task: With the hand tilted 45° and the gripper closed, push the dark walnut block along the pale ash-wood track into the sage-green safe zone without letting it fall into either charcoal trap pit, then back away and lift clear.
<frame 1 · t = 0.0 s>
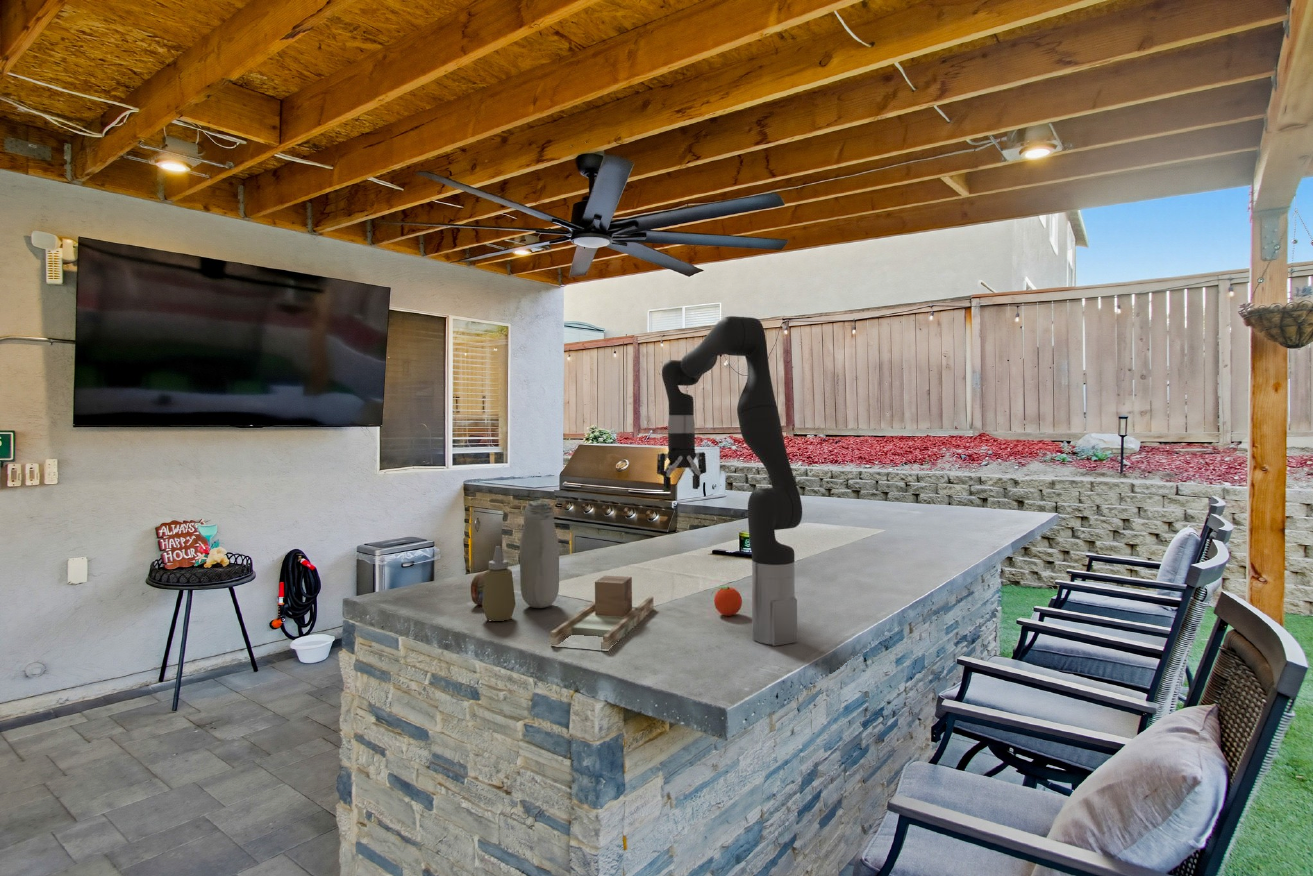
hand: (681, 489, 189), 29 cm above the countertop, tool pointing down, fingers open, 8 cm apart
grey vase: (540, 607, 177), on the countertop
walnut block: (613, 612, 164), point 2 cm above the countertop, touching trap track
tin: (489, 602, 184), on the countertop
clementine: (726, 615, 168), on the countertop
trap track: (606, 626, 159), on the countertop
squeeze bottle: (499, 620, 166), on the countertop
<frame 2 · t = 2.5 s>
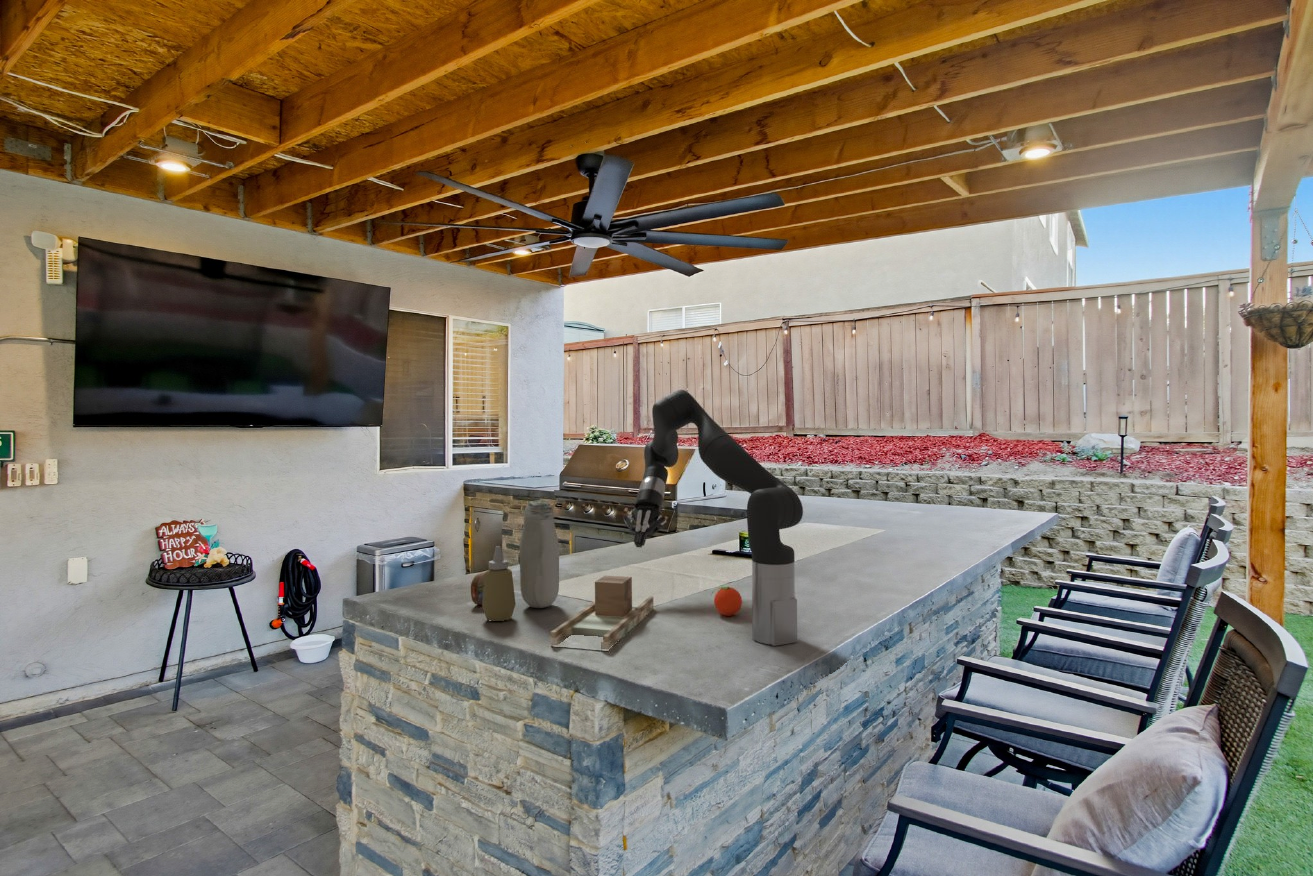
hand: (638, 545, 183), 15 cm above the countertop, tool tilted 45°, fingers closed
nothing on the countertop moved.
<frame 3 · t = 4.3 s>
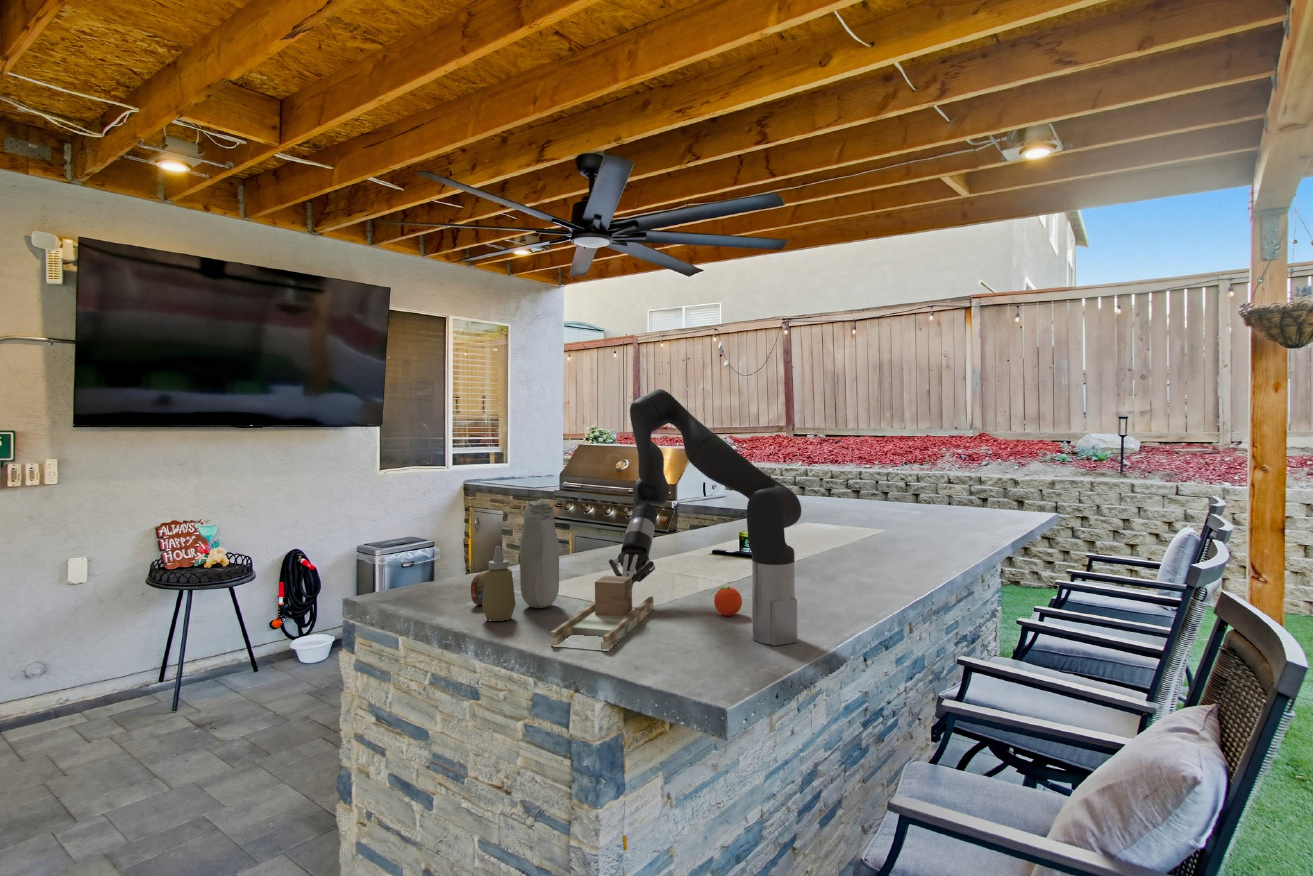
hand: (624, 593, 172), 5 cm above the countertop, tool tilted 45°, fingers closed
nothing on the countertop moved.
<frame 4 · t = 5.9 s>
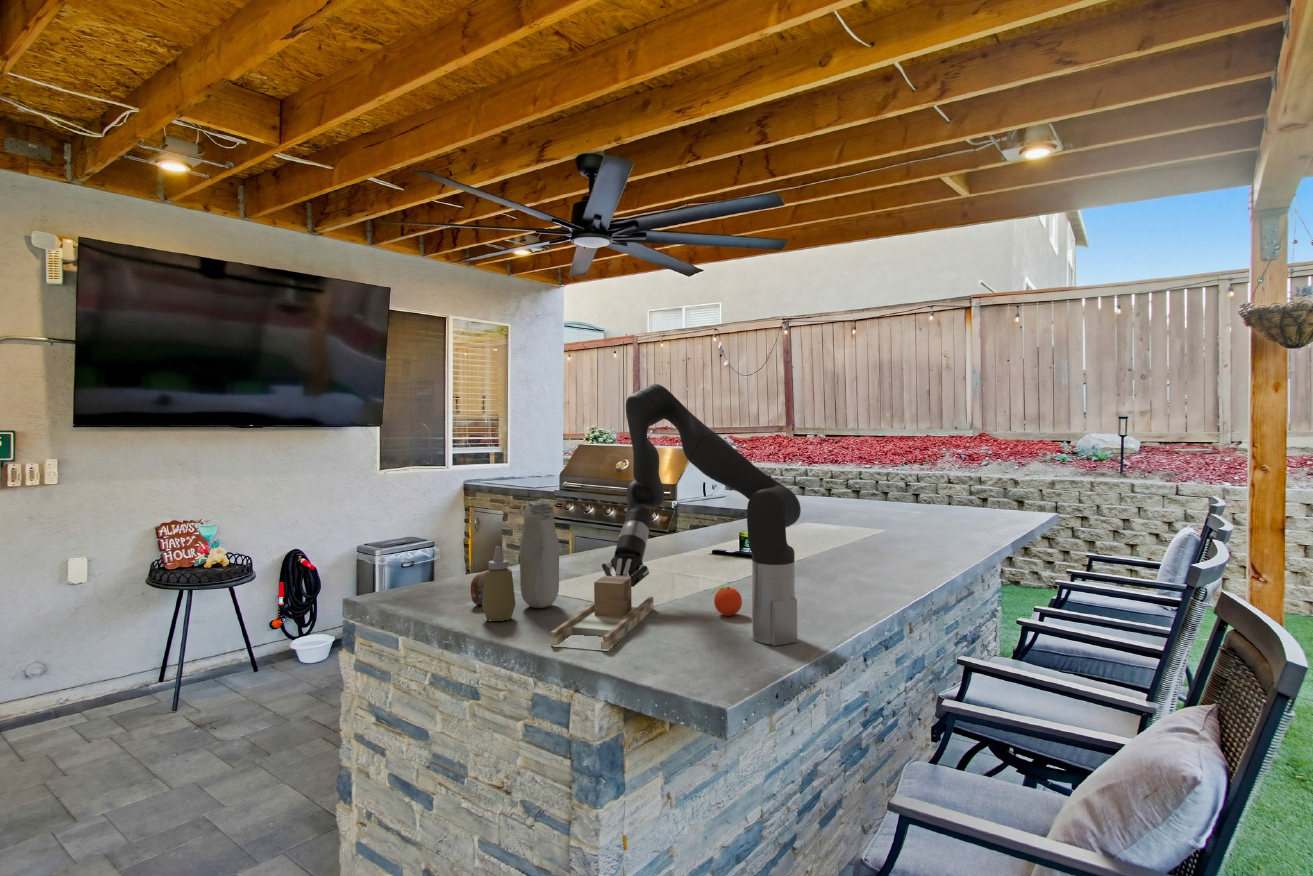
hand: (617, 599, 168), 4 cm above the countertop, tool tilted 45°, fingers closed
walnut block: (613, 612, 164), point 2 cm above the countertop, touching gripper, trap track
everything else where it was.
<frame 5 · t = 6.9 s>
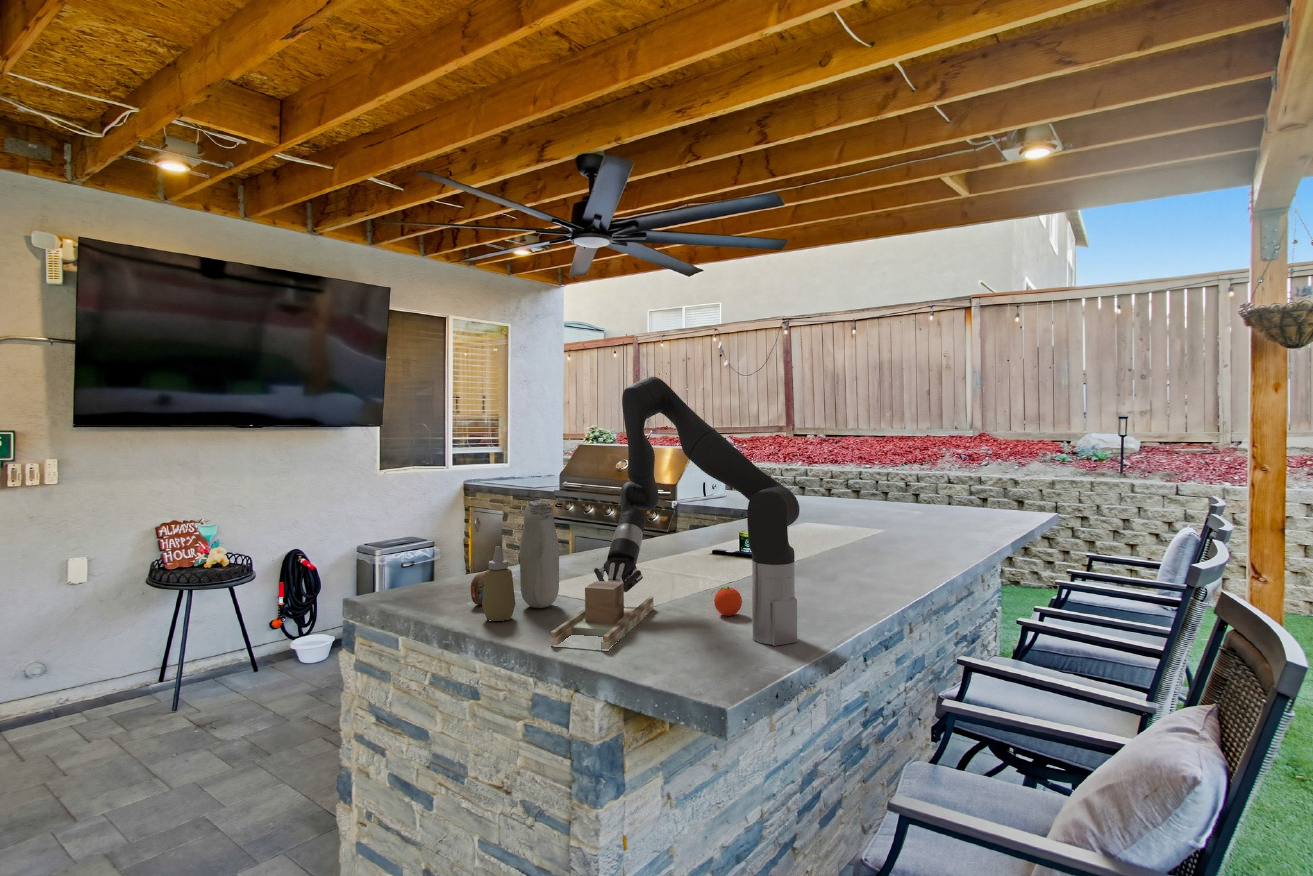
hand: (609, 604, 162), 4 cm above the countertop, tool tilted 45°, fingers closed
walnut block: (604, 619, 158), point 2 cm above the countertop, touching gripper, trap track
everything else where it was.
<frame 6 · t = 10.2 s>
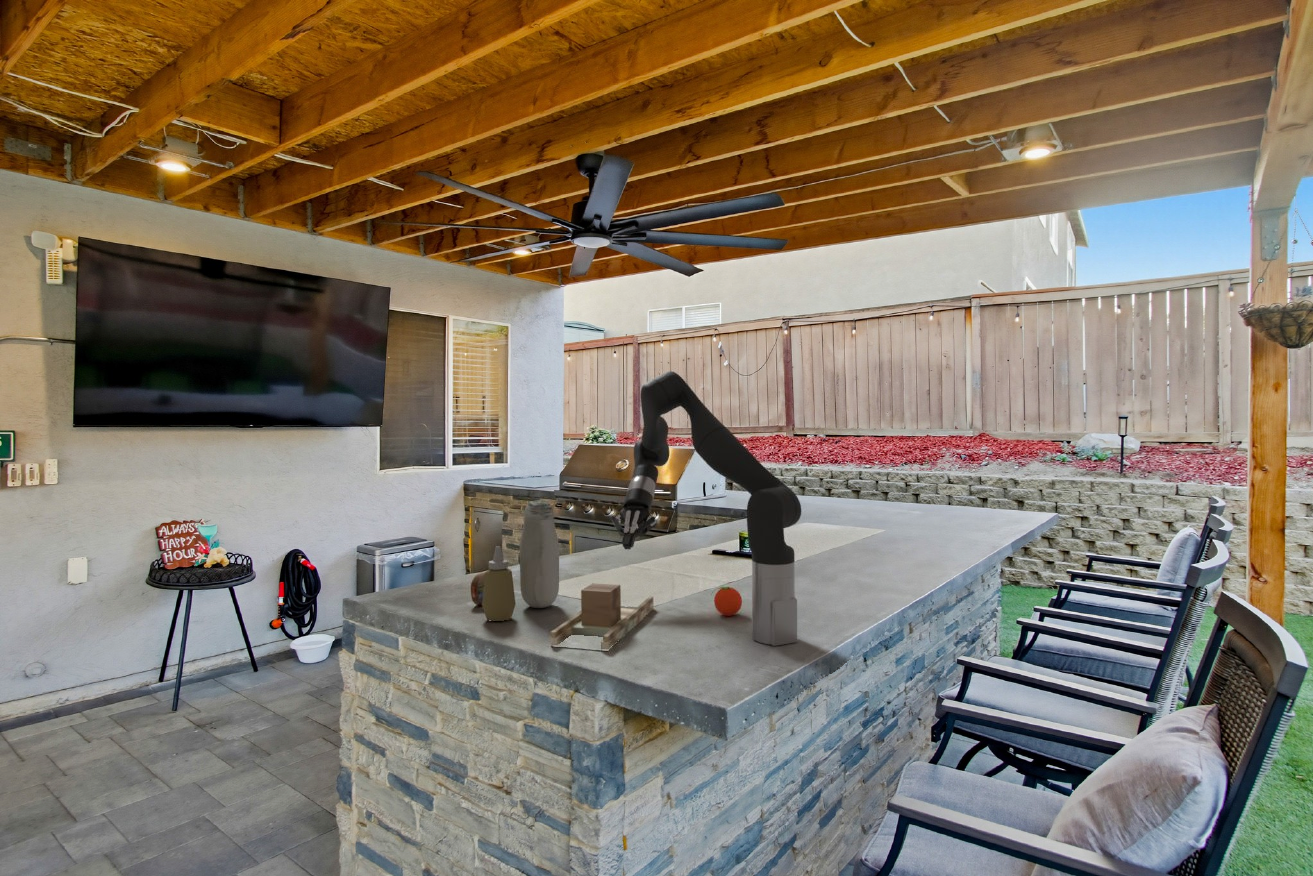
hand: (626, 547, 175), 16 cm above the countertop, tool tilted 45°, fingers closed
walnut block: (601, 622, 156), point 2 cm above the countertop, touching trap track
everything else where it was.
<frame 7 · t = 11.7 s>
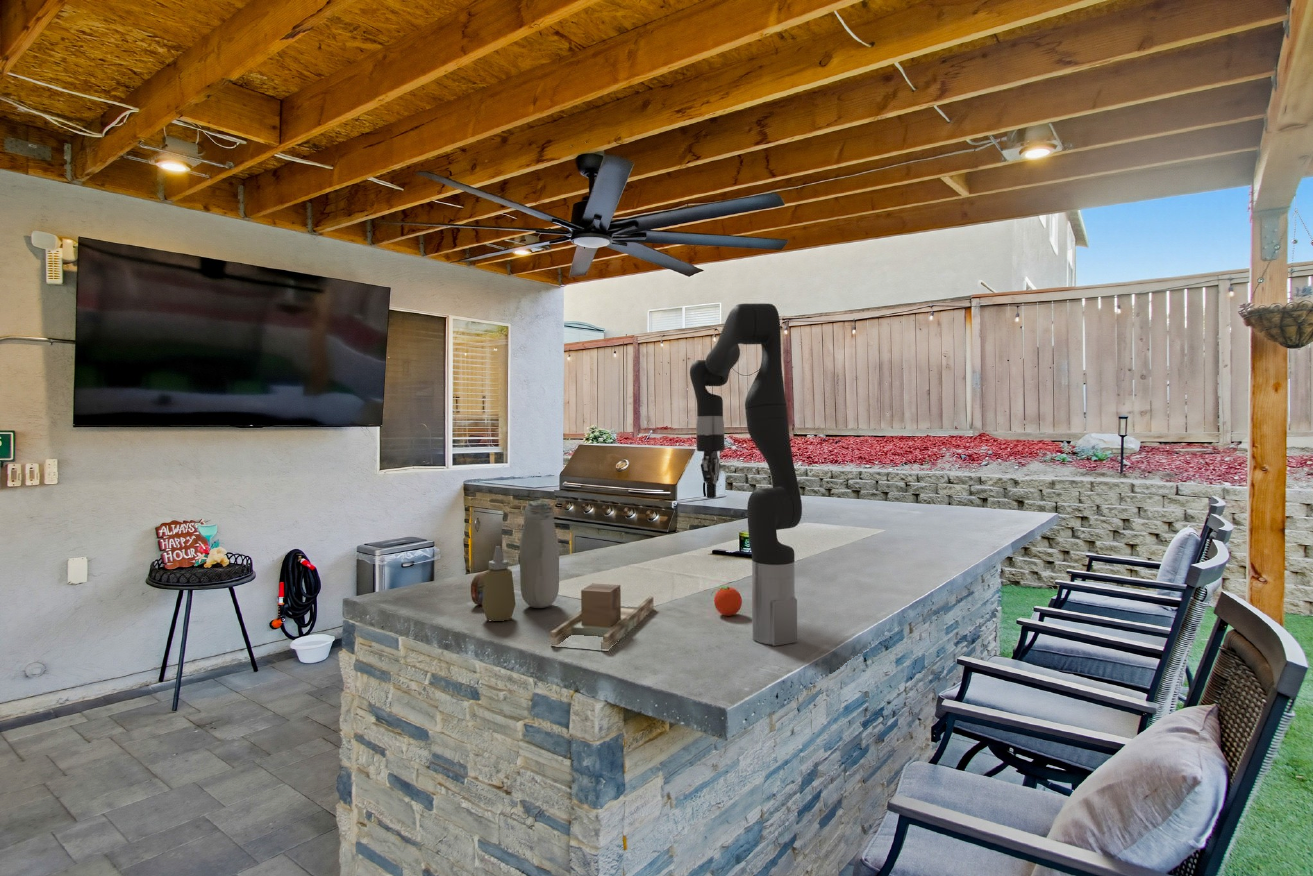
hand: (711, 497, 182), 28 cm above the countertop, tool pointing down, fingers closed
nothing on the countertop moved.
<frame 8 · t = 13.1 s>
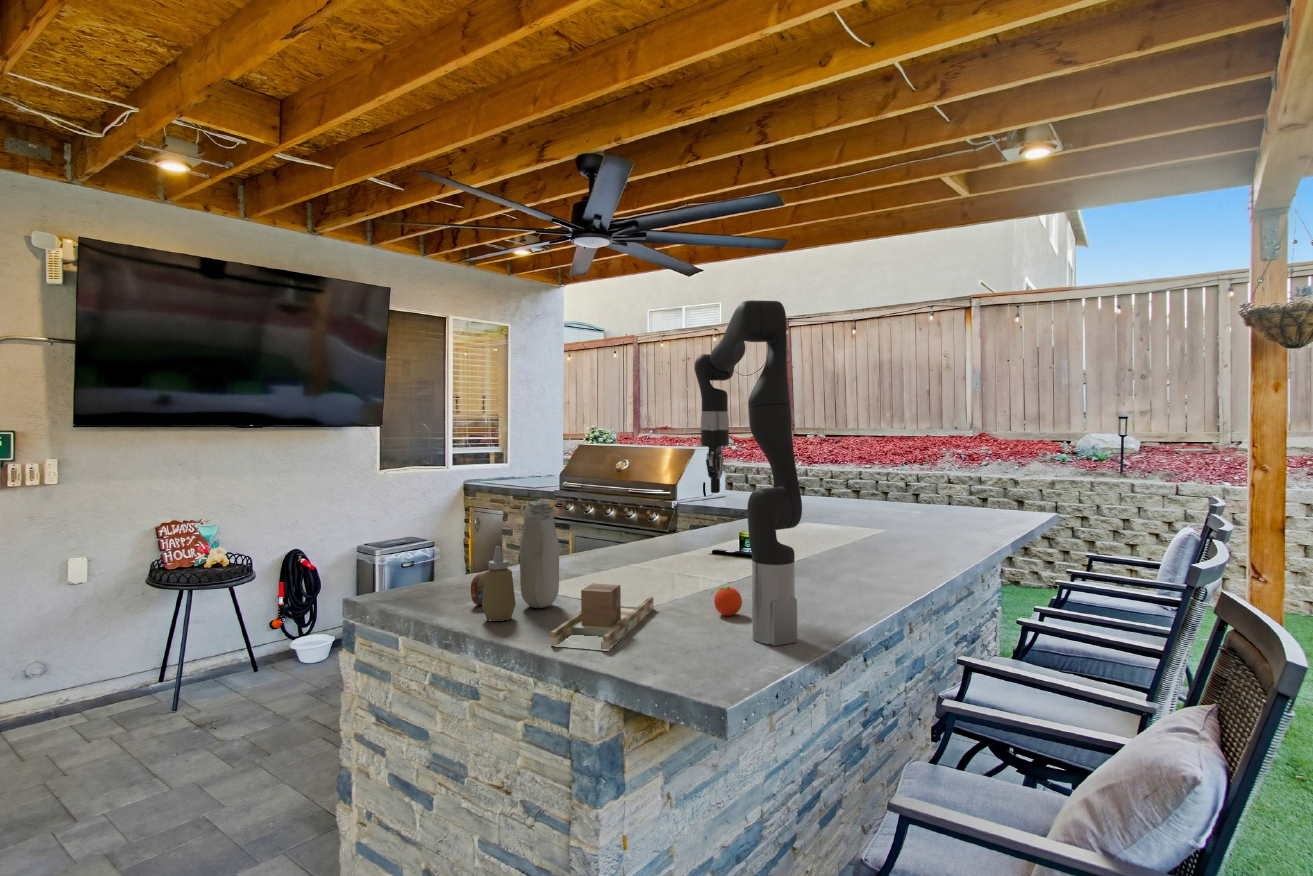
hand: (715, 492, 182), 29 cm above the countertop, tool pointing down, fingers closed
nothing on the countertop moved.
at the end: walnut block 0.4 cm from the target spot, point 2.0 cm above the countertop; walnut block tilted 0° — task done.
